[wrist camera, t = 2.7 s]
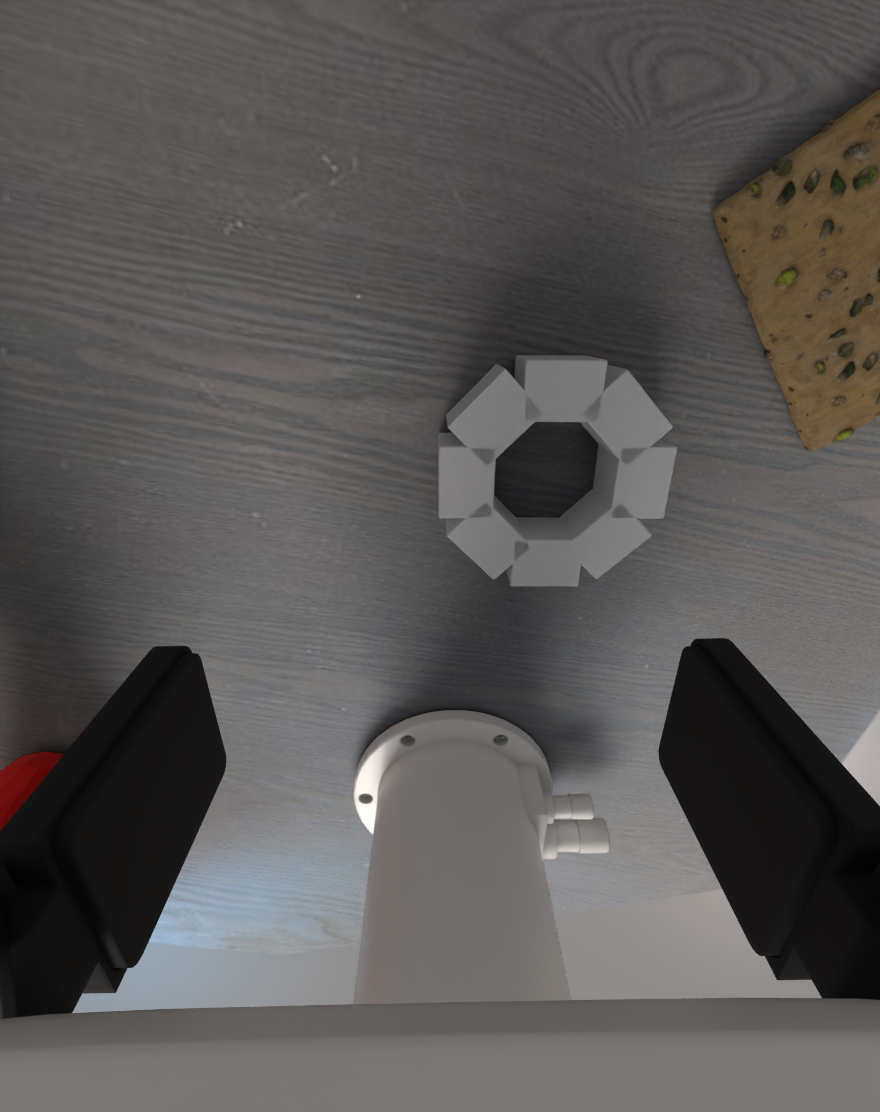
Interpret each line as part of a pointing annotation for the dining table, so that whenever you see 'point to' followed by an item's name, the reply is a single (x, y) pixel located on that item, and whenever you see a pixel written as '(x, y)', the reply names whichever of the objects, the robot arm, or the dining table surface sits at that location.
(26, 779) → the water bottle
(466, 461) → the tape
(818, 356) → the cookie
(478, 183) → the dining table surface
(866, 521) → the dining table surface
